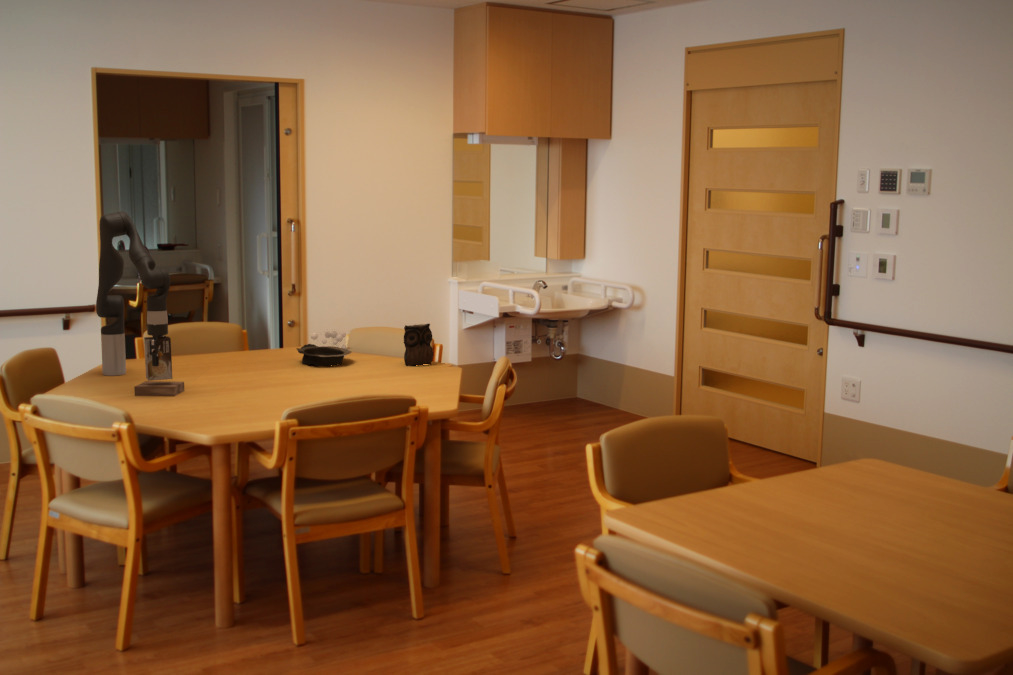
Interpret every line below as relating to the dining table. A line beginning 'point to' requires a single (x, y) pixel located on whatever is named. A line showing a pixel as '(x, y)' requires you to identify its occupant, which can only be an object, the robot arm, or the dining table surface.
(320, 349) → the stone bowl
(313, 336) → the decorative flower
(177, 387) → the walnut base block
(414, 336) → the owl
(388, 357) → the dining table surface
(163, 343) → the coffee box
